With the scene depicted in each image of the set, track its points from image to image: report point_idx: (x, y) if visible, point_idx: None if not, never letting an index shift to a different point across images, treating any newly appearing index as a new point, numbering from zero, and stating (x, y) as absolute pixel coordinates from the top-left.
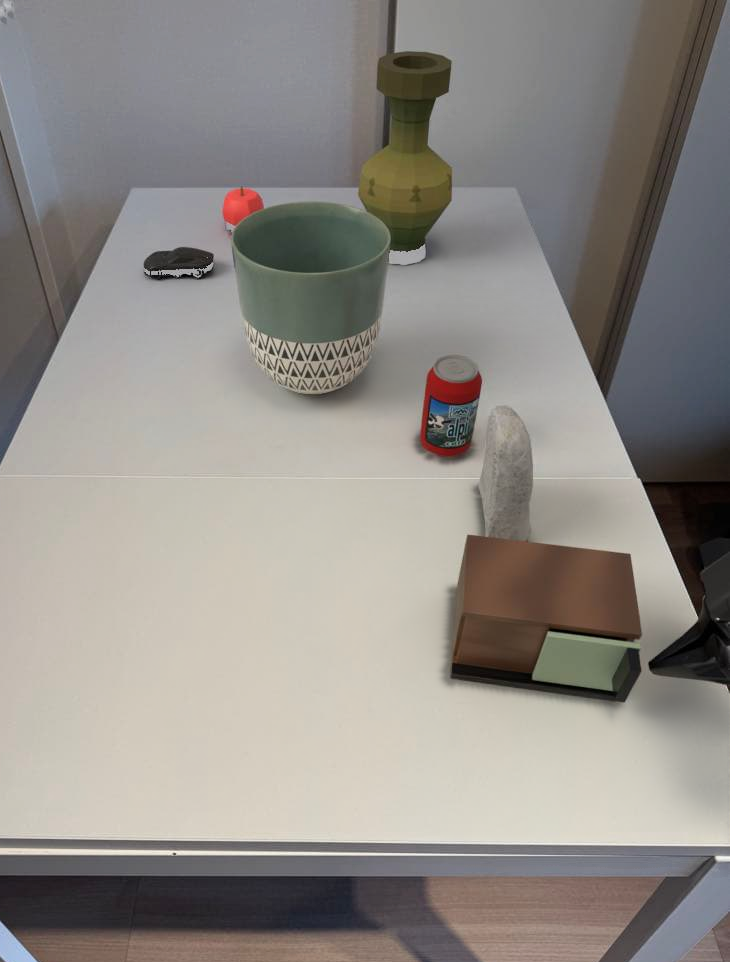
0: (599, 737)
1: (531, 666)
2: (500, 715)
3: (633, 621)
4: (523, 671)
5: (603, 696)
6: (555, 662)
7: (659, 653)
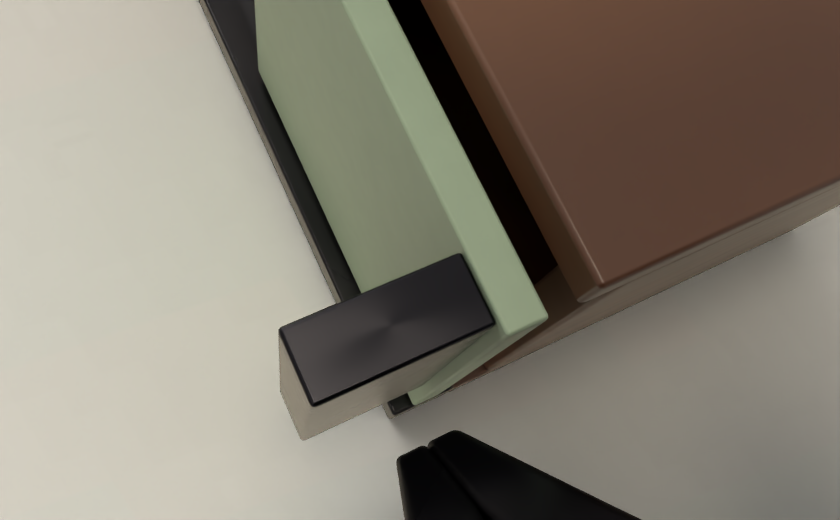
0: (168, 422)
1: None
2: (59, 41)
3: (676, 197)
4: None
5: None
6: (282, 40)
7: (530, 467)
